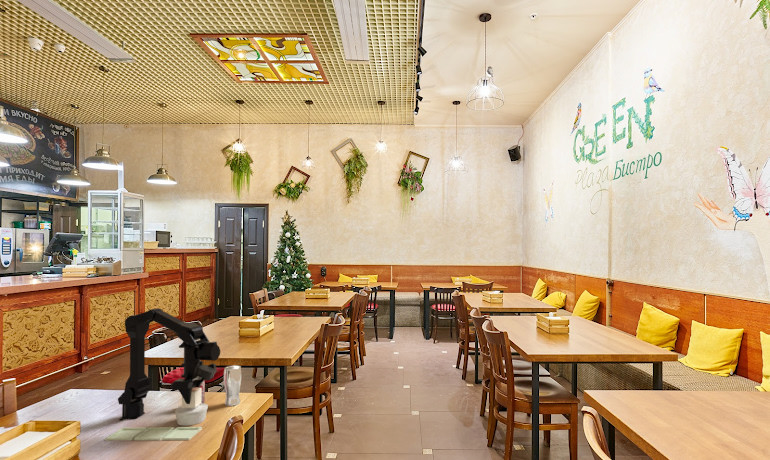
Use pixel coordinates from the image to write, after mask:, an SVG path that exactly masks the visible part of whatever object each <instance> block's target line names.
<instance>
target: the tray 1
mask: <svg viewBox="0 0 770 460" xmlns="http://www.w3.org/2000/svg"><path fill="white" fill-rule="evenodd" d="M147 429H148V427H146V426H145V427H143V426H141V427H121V428H120V429H118V430H116V431H115V432H114V433H112V434H110V435H109V436H107V437H106V438H105V440H104V441H105V442H106V441H107V442H109V441H114V442H115V441H119V442H120V441H122V442H123V441H132V440H133V441H134V438H135V437H137V436H138V435H140V434H141V433H143V432H144V431H145V430H147Z"/></svg>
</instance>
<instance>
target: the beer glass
mask: <svg viewBox="0 0 770 460" xmlns="http://www.w3.org/2000/svg"><path fill="white" fill-rule="evenodd" d="M241 383H242V366H241V365H237V364H235V365H229V366H225V367H224V370H223V384H224V385H223V386H224V391H225V401H224V406H226V407H232V406H233V405H234V406H237V405H239V404H241V399H240V391H241V390H240V389H241V386H242V385H241ZM234 406H233V407H234Z"/></svg>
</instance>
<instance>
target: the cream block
mask: <svg viewBox="0 0 770 460" xmlns="http://www.w3.org/2000/svg"><path fill="white" fill-rule="evenodd" d="M201 399H202V388H199V387H197V388H193V389H192V392H191V400H190V404H186V402H185V400H184V398H183V397H182V396H181V406H182V408H195V407H197V406H198V405H199V404H201Z"/></svg>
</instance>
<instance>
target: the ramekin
mask: <svg viewBox="0 0 770 460" xmlns="http://www.w3.org/2000/svg"><path fill="white" fill-rule="evenodd" d="M208 407H209V406H208V404H207V403H205V402H204V403H201V404H199V405H198V406H197V407H195V408H182V405H180V406H178V407H177V408H176V409H175V410H174V411H175V412H174V413H175V419H176V423H177V424H178V425H179V426H180V427H190V426H194V425H197V424H198V425H199V424H201V423H202V422H204V421H205V420H206V418H207V417H206V416H207V411H208Z"/></svg>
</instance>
